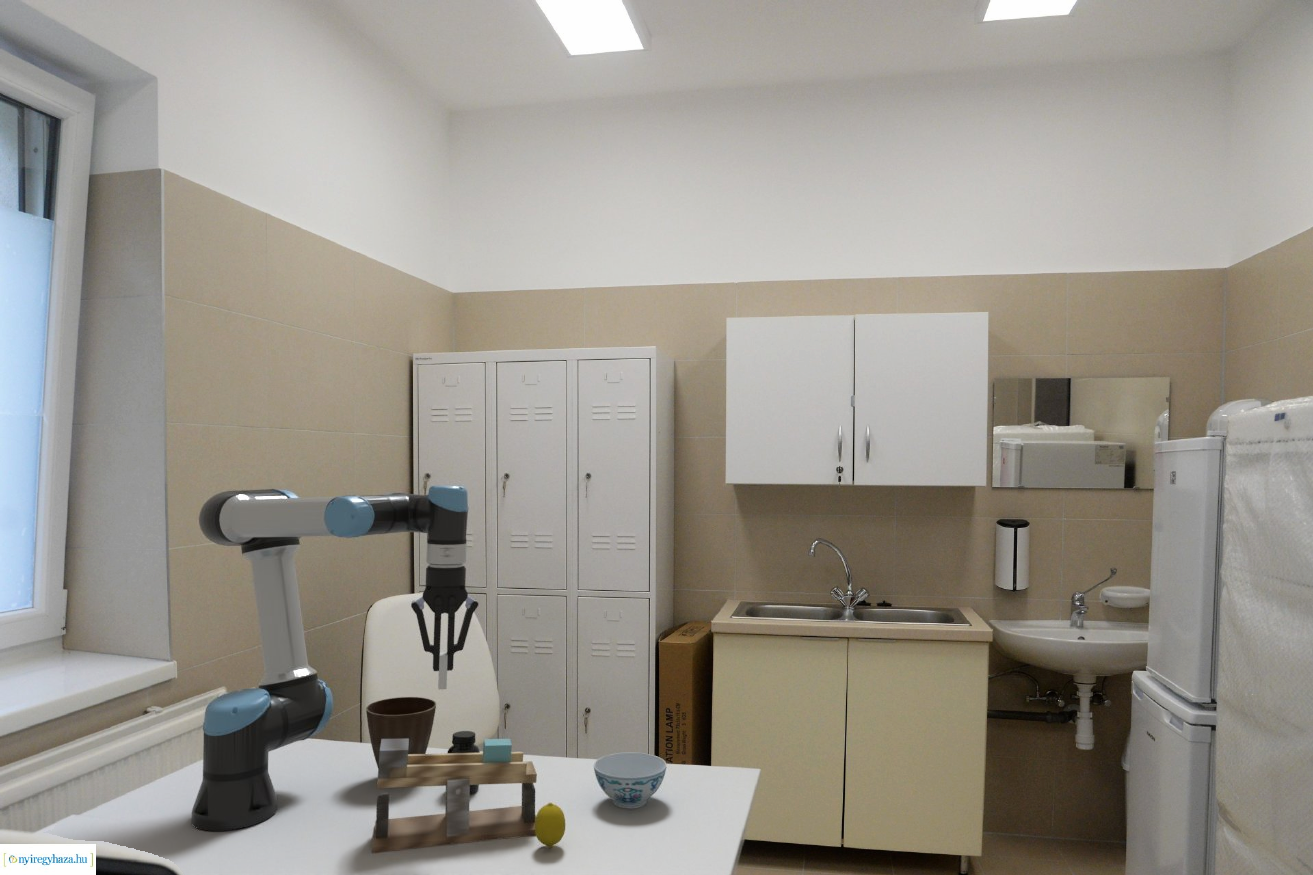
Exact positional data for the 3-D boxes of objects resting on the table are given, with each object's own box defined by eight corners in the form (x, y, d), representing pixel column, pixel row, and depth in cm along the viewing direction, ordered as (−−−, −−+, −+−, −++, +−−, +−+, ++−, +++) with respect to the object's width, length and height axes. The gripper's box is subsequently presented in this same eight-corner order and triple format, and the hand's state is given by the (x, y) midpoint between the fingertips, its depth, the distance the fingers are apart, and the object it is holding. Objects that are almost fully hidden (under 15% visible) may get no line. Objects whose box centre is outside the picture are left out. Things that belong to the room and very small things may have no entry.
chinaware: (677, 795, 180) (677, 758, 181) (647, 821, 167) (647, 781, 167) (614, 784, 187) (614, 748, 187) (580, 808, 173) (580, 770, 173)
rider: (483, 772, 162) (485, 745, 163) (482, 765, 166) (483, 739, 167) (509, 771, 164) (511, 745, 164) (507, 764, 168) (509, 738, 168)
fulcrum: (371, 852, 153) (372, 790, 153) (375, 825, 165) (376, 767, 165) (540, 834, 161) (540, 774, 161) (532, 809, 172) (532, 754, 173)
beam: (376, 787, 156) (379, 750, 156) (378, 773, 163) (381, 738, 163) (536, 782, 163) (538, 747, 164) (531, 769, 170) (533, 735, 171)
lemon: (550, 838, 159) (550, 794, 160) (571, 846, 156) (571, 802, 156) (528, 848, 155) (528, 803, 155) (549, 857, 151) (549, 811, 152)
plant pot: (410, 761, 200) (411, 692, 201) (448, 777, 190) (449, 704, 191) (351, 779, 189) (352, 706, 189) (389, 796, 179) (390, 719, 180)
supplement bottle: (471, 798, 178) (471, 739, 179) (440, 795, 180) (441, 737, 180) (484, 786, 185) (484, 729, 186) (454, 783, 187) (455, 728, 187)
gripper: (411, 567, 161) (407, 694, 160) (481, 567, 164) (477, 691, 164) (411, 563, 168) (407, 683, 168) (479, 562, 172) (475, 680, 171)
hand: (442, 687), depth 166 cm, fingers closed
